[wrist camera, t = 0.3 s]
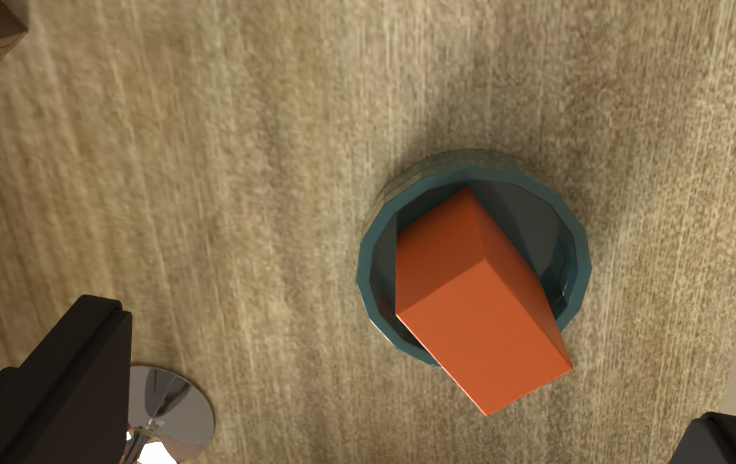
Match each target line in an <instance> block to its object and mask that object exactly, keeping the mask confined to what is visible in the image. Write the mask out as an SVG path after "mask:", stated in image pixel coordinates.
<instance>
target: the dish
mask: <svg viewBox="0 0 736 464" xmlns="http://www.w3.org/2000/svg"><path fill="white" fill-rule="evenodd" d="M465 186H468V187H469V188H470V189H471V191H472V192H473V193H474V195H475V196H476V197H477V199H478V200H479V201H480V202H481V204H482V205H483V206H484V208H485V209H486V210H487V211H488V213H489V214H490V215H491V217H492V218H493V219H494V221H495V222H496V223H497V224H498V226H499V227H500V228H501V230H502V231H503V232H504V233H505V235H506V236H507V237H508V239H509V240H510V241H511V243H512V244H513V245H514V246H515V248H516V249H517V250H518V252H519V253H520V254H521V255H522V257H523V258H524V259H525V261H526V262H527V263H528V265H529V266H530V267H531V268H532V270H533V271H534V272H535V274H536V275H537V276H538V277H539V280H540V283H541V285H542V288H543V290H544V293H545V295H546V298H547V301H548V303H549V306H550V308H551V311H552V313H553V316H554V319H555V321H556V324H557V326H558V329H559V331H560V333H561V332H562V331H563V329H564V328H565V327H566V326H567V325H568V323H569V322H570V321H571V320H572V319H573V317H574V316H575V315H576V314H577V313H578V311H579V310H580V308H581V305H582V301H583V298H584V295H585V291H586V288H587V285H588V282H589V278H590V275H591V272H592V271H591V270H592V266H591V260H590V254H589V247H588V241H587V235H586V230H585V228H584V226H583V224H582V223H581V221H580V220H579V218H578V216H577V215H576V213H575V211H574V210H573V208H572V207H571V206H570V204H569V203H568V201H567V200H566V199H565V197H564V196H563V194H562V192H561V191H560V190H559V188H558V187H557V186H556V185H555V183H554V182H553V180H552V179H550V177H548V176H546V175H545V174H544V173H543V172H542V171H540V170H539V169H537V168H536V167H534V166H533V165H531V164H530V163H528V162H526V161H524V160H521V159H519V158H517V157H515V156H511V155H508V154H505V153H502V152H497V151H491V150H482V149H464V150H455V151H450V152H444V153H441V154H437V155H434V156H431V157H428V158H426V159H424V160H422V161H420V162H418V163H415V164H414V165H412V166H411V167H409V168H407V169H406V170H404V171H403V172H401V173H400V174H399V175H398V176H396V177H395V178H394V179H393V180H392V181H391V182H390V183H389V184H388V185H387V186H386V187H385V188H384V189H383V190H382V191H381V193H380V194H379V196H378V197H377V199H376V200H375V201H374V203H373V205H372V207H371V209H370V211H369V213H368V215H367V218H366V219H365V221H364V224H363V228H362V236H361V243H360V252H359V260H358V268H357V276H356V283H357V286H358V289H359V292H360V295H361V298H362V301H363V304H364V307H365V310H366V313H367V316H368V318H369V320H370V321H371V322H372V323H373V324H374V325H375V326H376V327H377V329H378V330H379V331H380V332H381V333H382V334H383V335H384V336H385V337H386V338H387V339H388V341H389V342H390V343H391V344H392V345H393V346H394V347H396V349H399V350H401V351H403V352H405V353H407V354H409V355H411V356H413V357H415V358H417V359H419V360H421V361H423V362H425V363H427V364H429V365H432V366H437V367H442V366H441V365H440V364H439V363H438V362H437V361H436V360H435V359H434V357H433V356H432V355H431V354H430V353H429V352H428V351H427V350H426V348H425V347H424V346H423V345H422V344H421V343H420V342H419V341H418V340H417V338H416V337H415V336H414V335H413V334H412V333H411V332H410V331H409V329H408V328H407V327H406V326H405V325H404V324H403V323H402V322H401V321H400V319H399V318H398V317H397V316H396V314H395V310H396V238H397V233H398V232H399V231H401V230H402V229H404V228H405V227H407V226H408V225H409V224H411V223H412V222H414V221H415V220H417V219H418V218H420V217H421V216H423V215H424V214H426V213H427V212H428V211H430V210H431V209H433V208H434V207H436V206H437V205H439V204H440V203H442V202H443V201H445V200H446V199H447V198H449V197H450V196H452V195H453V194H455V193H456V192H458V191H459V190H461V189H462V188H463V187H465Z"/></svg>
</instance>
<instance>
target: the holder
mask: <svg viewBox="0 0 736 464" xmlns="http://www.w3.org/2000/svg"><path fill="white" fill-rule="evenodd" d="M27 33H28V29H27V28H26V27H25V26H24V25H23V24H22V23H21V22H20V21H19V20H18V19H17V18H16V17H15V16H14V15H13V13H12V12H11V11H10V10H9V9H8V8H7V7H6V6H5V5H4V4H3V3H2V2H1V1H0V60H1V59H2V58H3V57H4V56H5V55H6V54H7V53H8V52H9V51H10V50H11V49H12V48H13V47H14V46H15V45H16V44H17V43H18V42H19V41H20V40H21V39H22V38H23V37H24V36H25V35H26V34H27Z"/></svg>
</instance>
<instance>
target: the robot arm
mask: <svg viewBox="0 0 736 464" xmlns="http://www.w3.org/2000/svg"><path fill="white" fill-rule="evenodd" d="M131 340H132V314H131V312H128V311H123V310H122V304H121V302H120V301H119V300H113V299H108V298H103V297H97V296H92V295H87V294H84V295H82V296H80V297H79V298H78V299H77V301H76V302H75V303H74V304H73V305H72V306H71V308H70V309H69V310H68V311H67V312H66V313H65V314H64V316H63V317H62V318H61V319H60V320H59V321H58V323H57V324H56V325H55V326H54V327H53V328H52V330H51V331H50V332H49V333H48V334H47V335H46V337H45V338H44V339H43V340H42V341H41V342H40V343H39V345H38V346H37V347H36V348H35V349H34V350H33V352H32V353H31V354H30V355H29V356H28V357H27V359H26V360H25V361H24V362H23V363H22V364H21V366H20V367H19V368H15V367H6V368H4V369H2V370H1V371H0V464H119V463H120V461H121V459H122V456H123V453H124V450H125V447H126V443H127V435H128V411H129V388H130V364H131ZM668 464H736V416H732V415H727V414H722V413H716V412H706V413H705V414H703V415H702V416H701V417H700V418H695V419H694V420H692V421H691V423H690V424H689V426H688V428H687V429H686V431H685V433H684V435H683V437H682V439H681V441H680V443H679V444H678V446H677V448H676V450H675V452H674V454H673V456H672V458H671V459H670V461H669V463H668Z"/></svg>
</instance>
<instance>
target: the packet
mask: <svg viewBox="0 0 736 464" xmlns="http://www.w3.org/2000/svg"><path fill="white" fill-rule="evenodd" d="M395 314H396V316H397V317H398V318H399V319H400V321H401V322H402V323H403V324H404V325H405V326H406V327H407V328H408V329H409V331H410V332H411V333H412V334H413V335H414V336H415V337H416V338H417V340H418V341H419V342H420V343H421V344H422V345H423V346H424V347H425V348H426V350H427V351H428V352H429V353H430V354H431V355H432V356H433V357H434V359H435V360H436V361H437V362H438V363H439V364H440V365H441V366H442V367H443V369H444V370H445V371H446V372H447V373H448V374H449V375H450V376H451V378H452V379H453V380H454V381H455V382H456V383H457V384H458V385H459V386H460V388H461V389H462V390H463V391H464V392H465V393H466V394H467V395H468V396H469V398H470V399H471V400H472V401H473V402H474V403H475V404H476V405H477V407H478V408H479V409H480V410H481V411H482V412H483V413H484V414H485V415H486V416H488V415H490V414H492V413H494V412H496V411H497V410H499V409H501V408H503V407H505V406H507V405H508V404H510V403H512V402H514V401H516V400H517V399H519V398H521V397H523V396H525V395H527V394H528V393H530V392H532V391H534V390H536V389H537V388H539V387H541V386H543V385H545V384H547V383H548V382H550V381H552V380H554V379H556V378H557V377H559V376H561V375H563V374H565V373H567V372H568V371H570V370H572V369H573V365H572V362H571V360H570V357H569V355H568V352H567V349H566V347H565V344H564V342H563V339H562V337H561V334H560V331H559V329H558V326H557V324H556V321H555V319H554V316H553V313H552V311H551V308H550V306H549V303H548V301H547V298H546V295H545V293H544V290H543V288H542V285H541V283H540V280H539V277H538V276H537V275H536V274H535V272H534V271H533V270H532V268H531V267H530V266H529V265H528V263H527V262H526V261H525V259H524V258H523V257H522V255H521V254H520V253H519V252H518V250H517V249H516V248H515V246H514V245H513V244H512V243H511V241H510V240H509V239H508V237H507V236H506V235H505V233H504V232H503V231H502V230H501V228H500V227H499V226H498V224H497V223H496V222H495V221H494V219H493V218H492V217H491V215H490V214H489V213H488V211H487V210H486V209H485V208H484V206H483V205H482V204H481V202H480V201H479V200H478V199H477V197H476V196H475V195H474V193H473V192H472V191H471V189H470V188H469V187H468V186H465V187H463V188H462V189H461V190H459V191H458V192H456V193H455V194H453V195H452V196H450V197H449V198H447V199H446V200H445V201H443V202H442V203H440V204H439V205H437V206H436V207H434V208H433V209H431V210H430V211H428V212H427V213H426V214H424V215H423V216H421V217H420V218H418V219H417V220H415V221H414V222H412V223H411V224H409V225H408V226H407V227H405V228H404V229H402V230H401V231H399V232H398V233H397V238H396V310H395Z"/></svg>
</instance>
